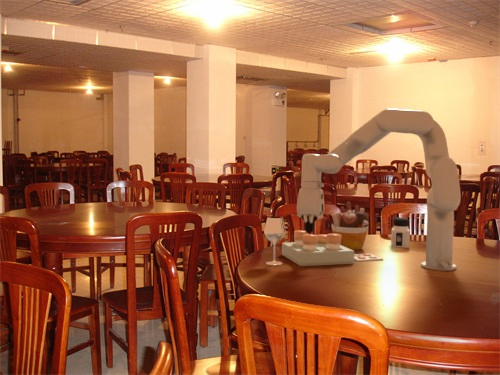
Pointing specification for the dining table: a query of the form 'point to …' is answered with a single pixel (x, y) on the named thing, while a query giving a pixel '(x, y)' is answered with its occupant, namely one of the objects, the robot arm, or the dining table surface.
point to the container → (400, 233)
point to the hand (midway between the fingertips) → (309, 232)
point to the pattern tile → (366, 257)
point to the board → (317, 255)
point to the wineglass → (274, 234)
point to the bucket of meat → (351, 227)
